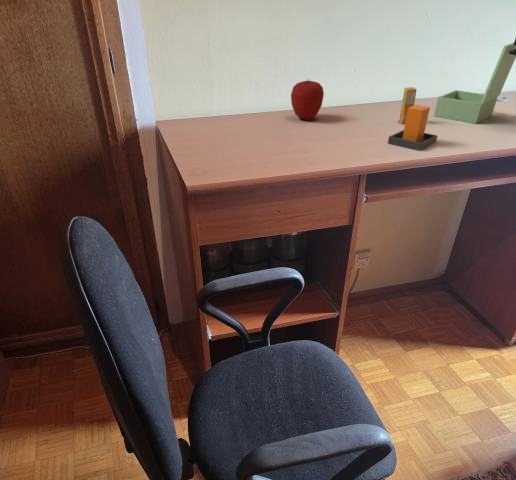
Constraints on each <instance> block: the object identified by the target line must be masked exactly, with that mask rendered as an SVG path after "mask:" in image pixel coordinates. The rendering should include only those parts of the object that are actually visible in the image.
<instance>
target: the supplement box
mask: <svg viewBox="0 0 516 480" xmlns="http://www.w3.org/2000/svg"><path fill="white" fill-rule="evenodd" d="M416 96H417V88H415V87H414V86H412V87H411V86H410V87H409V86H408V87H404V90H403V96H402V101H401V106H400V107H401V108H400V113H399V119H398V122H400V124H402V125H405V122H406V117H407V112H408V108H409V107H412V106H414V105H415V101H416Z"/></svg>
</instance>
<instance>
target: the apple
mask: <svg viewBox="0 0 516 480" xmlns="http://www.w3.org/2000/svg"><path fill="white" fill-rule="evenodd" d="M307 79H308V80H304V81H303V80H302V81H299V82H297V83H296V84H295V85H294V86H292V90H291V93H290V101H291V108H292V110H293V112H294V114H295V116H297V117H298V118H299V119H301V120H305V121H310V120H312V119H314V118H315V117H316V116H317V115H318V113H319V112H320V110H321V108H322V106H323V101H324V96H325V92H324V87H323V86H322V84H320V83H319V82H317V81H313V80H310V79H309V78H307Z"/></svg>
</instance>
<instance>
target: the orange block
mask: <svg viewBox="0 0 516 480" xmlns="http://www.w3.org/2000/svg"><path fill="white" fill-rule="evenodd" d="M430 110H431V107H429V106H424V105H420V104H419V105H418V104H414V106H412V107H409V108H408V112H407V117H406V122H405V124H404V128H403V130H404V132H403V138H402V139H405V140H410V141H414V142H419V143H420V142H422V141H423V136H424V133H426V127H427V123H428V119H429V114H430Z"/></svg>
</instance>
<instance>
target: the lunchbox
mask: <svg viewBox="0 0 516 480" xmlns="http://www.w3.org/2000/svg"><path fill="white" fill-rule="evenodd" d="M484 94H485V93H478V92H470V91H464V90H459V89H455V90H452V91H450V92H447V93H445V94H442V95H440V96H437V100H436V104H435V108H434V114H433V117H438V118H443V119H448V120H454V121H459V122H464V123H469V124H475V125H476V124H479V123H480V122H482V121H484V120H486V119H488V118H490V117H491V116H493V113H494V110H495V106H496V104H497V100H498V96H497V97H495V98H493V99H491V100H488V101H486V102H484V103H482V102H481V101H482V99H483V96H484Z"/></svg>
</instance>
